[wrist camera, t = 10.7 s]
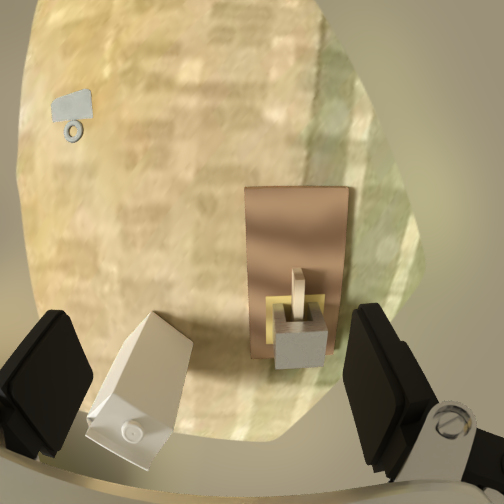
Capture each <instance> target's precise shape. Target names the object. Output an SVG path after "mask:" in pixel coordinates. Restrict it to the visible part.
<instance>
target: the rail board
mask: <svg viewBox="0 0 504 504" xmlns="http://www.w3.org/2000/svg"><path fill="white" fill-rule="evenodd" d="M244 191H245V219H246V246H247V272H248V298H249V323H250V347H251V359H260V358H274V349H273V338H272V327H273V304H276V303H283V307H284V313H285V319H286V322H302V321H307V310H308V302H318V303H319V306H320V309H321V312H322V315H323V318H324V320H325V323H326V326H327V329H328V336H327V344H326V352H325V355H331V354H333V351H334V345H335V338H336V330H337V323H338V315H339V307H340V298H341V289H342V279H343V268H344V257H345V245H346V231H347V214H348V194H349V188H348V187H346V186H264V187H245V188H244Z"/></svg>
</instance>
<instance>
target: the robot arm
mask: <svg viewBox="0 0 504 504" xmlns="http://www.w3.org/2000/svg"><path fill="white" fill-rule="evenodd" d="M92 381H93V372H92V369H91V367H90V365H89V363H88V360H87V358H86V356H85V354H84V351H83V349H82V347H81V344H80V342H79V339H78V337H77V335H76V332H75V330H74V327H73V324H72V322H71V319H70V317H69V316H68V315H66V313H65V312H64V311H63V310H48V311H47V312H46V313H45V314H44V315H43V317H42V318H41V319H40V320H39V322H38V323H37V324H36V325H35V326H34V327H33V329H32V330H31V331H30V332H29V334H28V335H27V336H26V337H25V338H24V340H23V341H22V342H21V344H20V345H19V346H18V347H17V349H16V350H15V351H14V353H13V354H12V355H11V356H10V358H9V359H8V360H7V362H6V363H5V364H4V366H3V367H2V369H1V370H0V504H504V438H503V437H500V436H497V435H494V434H492V433H489V432H486V431H483V430H481V429H478V428H477V421H476V418H475V415H474V414H473V412H472V411H471V409H469V408H468V407H467V406H466V405H464V404H462V403H460V402H455V401H444V402H441V403H439V402H438V400H437V398H436V396H435V394H434V392H433V390H432V388H431V386H430V384H429V382H428V381H427V379H426V377H425V375H424V373H423V371H422V369H421V368H420V366H419V364H418V362H417V360H416V359H415V357H414V355H413V353H412V352H411V350H410V348H409V346H408V345H407V343H406V342H404V341H400V339H399V338H398V336H397V334H396V332H395V331H394V329H393V327H392V325H391V324H390V322H389V320H388V318H387V317H386V315H385V313H384V312H383V310H382V308H381V306H380V305H379V304H378V303H368V304H360V305H359V307H358V309H354V310H353V314H352V320H351V327H350V333H349V340H348V346H347V352H346V357H345V363H344V368H343V382H344V385H345V389H346V392H347V396H348V399H349V402H350V406H351V410H352V413H353V416H354V421H355V424H356V428H357V431H358V435H359V439H360V443H361V446H362V450H363V454H364V458H365V462H366V464H367V465H372V467H373V470H374V473H376V472H381V471H385V474H386V477H387V478H389V481H388V482H387V483H385V484H379V485H373V486H366V487H360V488H353V489H346V490H340V491H333V492H324V493H315V494H304V495H290V496H274V497H217V496H201V495H189V494H178V493H170V492H162V491H154V490H148V489H142V488H136V487H130V486H125V485H120V484H116V483H111V482H106V481H102V480H98V479H94V478H90V477H86V476H82V475H79V474H76V473H72V472H69V471H65V470H62V469H59V468H55V467H53V466H50V465H47V464H44V463H41V462H40V461H39V457H38V452H39V451H40V452H41V453H42V454H43V455H46V456H50V457H53V458H55V455H56V453H57V451H59V450H61V448H62V445H63V443H64V441H65V439H66V436H67V434H68V432H69V430H70V427H71V425H72V423H73V421H74V419H75V416H76V414H77V412H78V410H79V408H80V406H81V404H82V401H83V399H84V397H85V395H86V393H87V391H88V389H89V387H90V385H91V383H92Z"/></svg>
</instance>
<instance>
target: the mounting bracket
mask: <svg viewBox="0 0 504 504" xmlns="http://www.w3.org/2000/svg"><path fill="white" fill-rule="evenodd" d="M51 110H52V120H53V122H59V121H68V120H71V121H70V122H68V123H67V124H66V126H65V128H64V136H65V139H66V140H67V141H69V142H71V143H75V142H77V141H78V140H79V139H80V138H81V136H82V133H83V127H82V124H81V123H80V122H79V121H77V119H87V118H93V112H92V100H91V91H90V90H88V89H83V90H80V91H77V92H74V93H71V94H68V95H65V96H62V97H59V98H57V99H55V100H54V101H53V102H52V104H51ZM71 126H76V128H77V134H76V136H74V137H71V136H70V135H69V128H70V127H71Z"/></svg>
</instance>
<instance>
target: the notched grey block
mask: <svg viewBox="0 0 504 504" xmlns="http://www.w3.org/2000/svg"><path fill="white" fill-rule="evenodd" d="M327 336H328V329H327V326H326V323H325V320H324V318H323V315H322V312H321V309H320V306H319V303H318V302H308V310H307V321H302V322H286V319H285V313H284V307H283V303H276V304H273V327H272V338H273V349H274V360H275V369H293V368H309V367H322V366H324V359H325V352H326V344H327Z"/></svg>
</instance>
